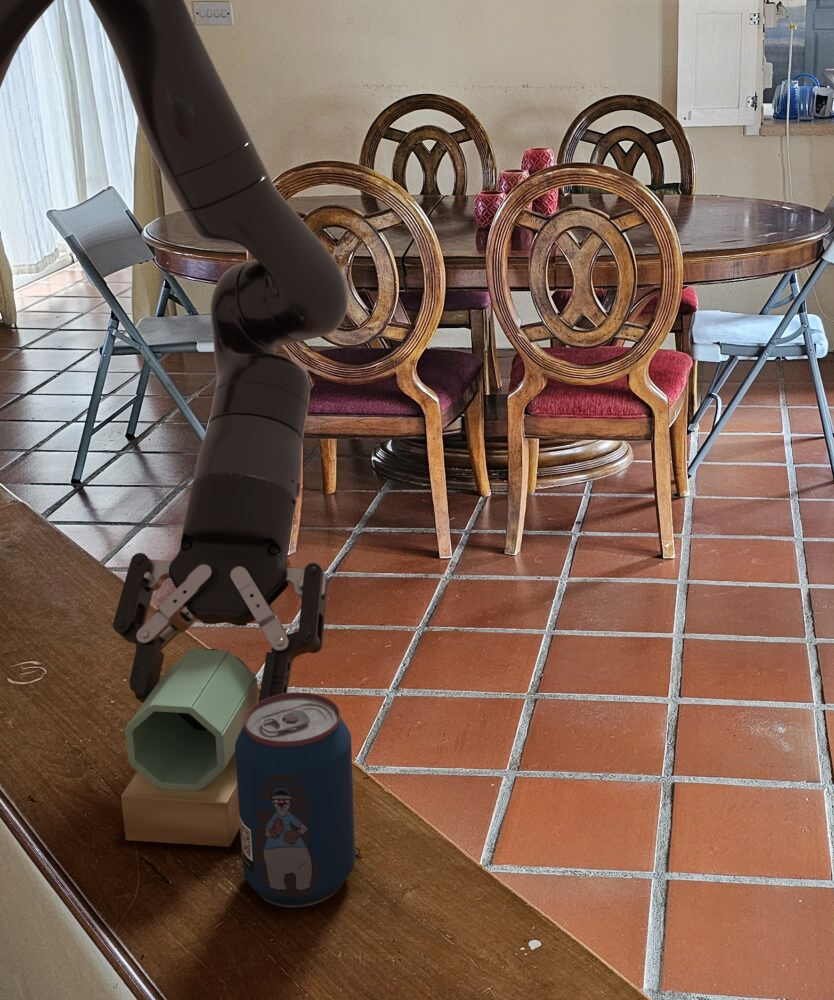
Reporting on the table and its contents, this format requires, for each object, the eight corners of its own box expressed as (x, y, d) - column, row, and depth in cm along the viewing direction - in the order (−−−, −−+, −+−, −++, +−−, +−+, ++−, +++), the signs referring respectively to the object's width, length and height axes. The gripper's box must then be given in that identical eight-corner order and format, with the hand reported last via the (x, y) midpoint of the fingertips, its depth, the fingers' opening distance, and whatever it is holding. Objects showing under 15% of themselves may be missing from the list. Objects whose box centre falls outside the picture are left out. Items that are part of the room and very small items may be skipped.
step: (178, 757, 95) (174, 715, 94) (272, 763, 95) (270, 721, 93) (125, 840, 86) (120, 796, 84) (230, 847, 85) (226, 802, 84)
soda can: (330, 833, 87) (324, 677, 83) (373, 891, 82) (369, 727, 78) (229, 866, 84) (216, 704, 79) (267, 929, 78) (256, 759, 74)
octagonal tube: (173, 723, 93) (166, 643, 90) (262, 728, 92) (257, 649, 90) (130, 787, 85) (121, 702, 83) (226, 793, 85) (220, 709, 83)
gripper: (133, 463, 92) (83, 684, 86) (331, 474, 92) (296, 697, 86) (165, 504, 99) (122, 712, 93) (350, 514, 99) (319, 724, 93)
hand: (205, 705), depth 89 cm, fingers open, 8 cm apart
